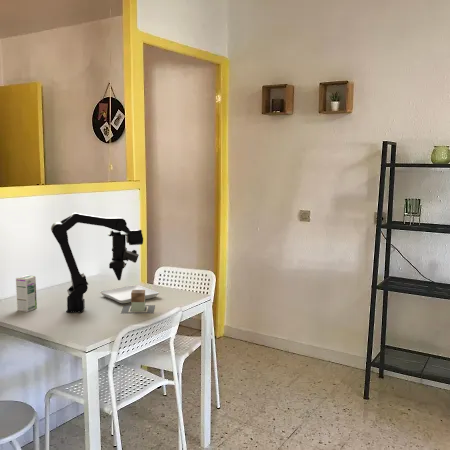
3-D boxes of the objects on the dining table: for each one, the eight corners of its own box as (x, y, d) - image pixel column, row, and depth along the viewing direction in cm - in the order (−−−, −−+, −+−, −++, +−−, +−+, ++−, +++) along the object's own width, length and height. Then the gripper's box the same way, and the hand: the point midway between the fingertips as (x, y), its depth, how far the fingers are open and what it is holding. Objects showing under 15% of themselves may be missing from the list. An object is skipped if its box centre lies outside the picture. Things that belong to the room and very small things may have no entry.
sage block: (131, 311, 209) (131, 302, 209) (132, 307, 215) (132, 298, 214) (144, 311, 210) (144, 302, 209) (145, 307, 215) (145, 298, 215)
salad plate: (98, 297, 233) (98, 290, 232) (137, 290, 247) (137, 283, 246) (120, 307, 217) (120, 300, 216) (160, 299, 231) (160, 292, 230)
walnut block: (131, 302, 209) (131, 293, 208) (132, 298, 214) (132, 289, 214) (144, 302, 209) (144, 293, 209) (145, 298, 215) (145, 289, 214)
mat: (120, 314, 206) (120, 313, 206) (123, 306, 218) (123, 305, 218) (153, 314, 207) (153, 313, 207) (155, 306, 219) (155, 305, 219)
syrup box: (27, 312, 206) (26, 278, 205) (16, 310, 208) (15, 277, 207) (37, 308, 212) (36, 276, 210) (26, 306, 214) (25, 274, 212)
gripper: (135, 249, 206) (135, 285, 208) (139, 242, 224) (139, 275, 226) (108, 249, 205) (109, 285, 207) (114, 242, 223) (115, 275, 225)
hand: (119, 280), depth 216 cm, fingers closed
